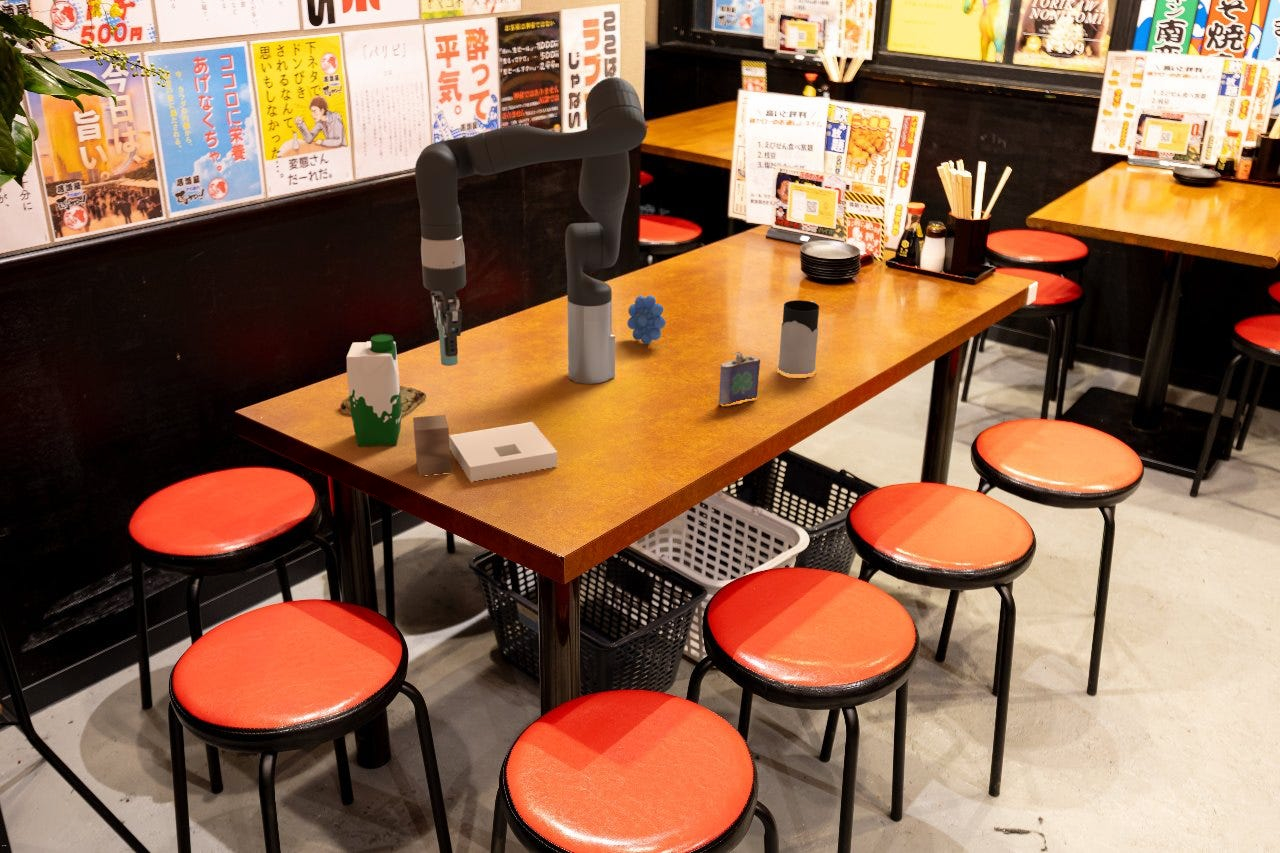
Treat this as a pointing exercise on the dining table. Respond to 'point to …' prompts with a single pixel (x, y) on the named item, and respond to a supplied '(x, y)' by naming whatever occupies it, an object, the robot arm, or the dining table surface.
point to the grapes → (646, 319)
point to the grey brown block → (432, 445)
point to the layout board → (502, 451)
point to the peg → (444, 359)
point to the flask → (739, 379)
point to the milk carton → (374, 391)
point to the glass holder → (799, 337)
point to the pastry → (408, 401)
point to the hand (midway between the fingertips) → (449, 351)
